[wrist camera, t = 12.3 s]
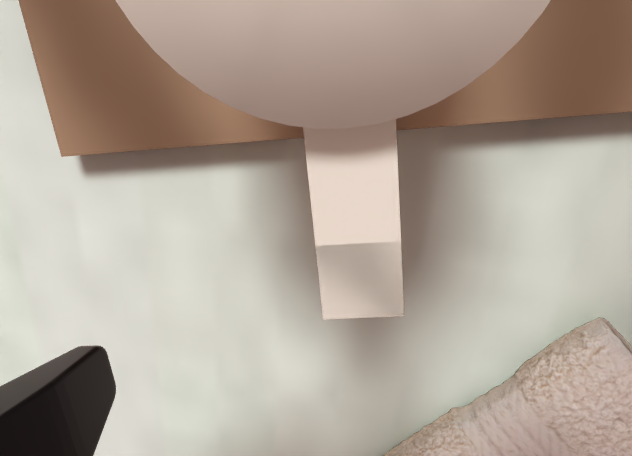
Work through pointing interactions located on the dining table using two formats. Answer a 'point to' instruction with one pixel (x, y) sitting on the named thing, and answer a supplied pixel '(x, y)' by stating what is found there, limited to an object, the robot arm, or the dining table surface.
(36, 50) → the dock
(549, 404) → the washcloth
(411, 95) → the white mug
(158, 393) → the dining table surface
